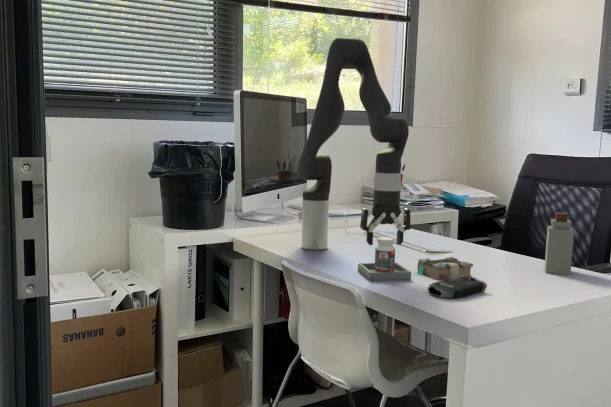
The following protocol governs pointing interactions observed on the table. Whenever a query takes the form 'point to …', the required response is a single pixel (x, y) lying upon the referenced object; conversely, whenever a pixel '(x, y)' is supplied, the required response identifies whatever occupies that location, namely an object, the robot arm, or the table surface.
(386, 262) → the pill bottle
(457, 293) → the electronic device
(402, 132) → the robot arm
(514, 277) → the table surface
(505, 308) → the table surface
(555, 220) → the perfume bottle
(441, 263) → the cardboard box
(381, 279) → the tray
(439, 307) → the table surface
